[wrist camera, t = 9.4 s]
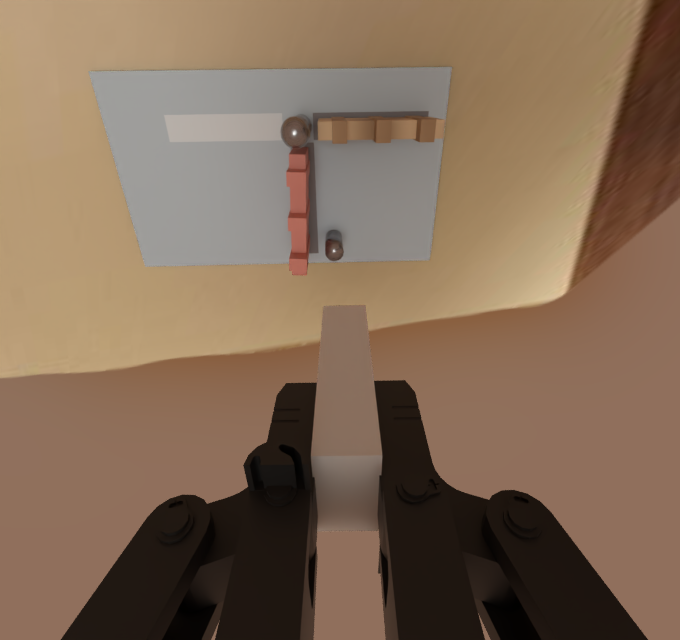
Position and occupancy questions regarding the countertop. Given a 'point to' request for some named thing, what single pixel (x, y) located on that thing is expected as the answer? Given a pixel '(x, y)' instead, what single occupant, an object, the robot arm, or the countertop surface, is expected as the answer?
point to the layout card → (271, 162)
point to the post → (296, 131)
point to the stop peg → (334, 245)
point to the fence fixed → (380, 129)
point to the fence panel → (299, 210)
